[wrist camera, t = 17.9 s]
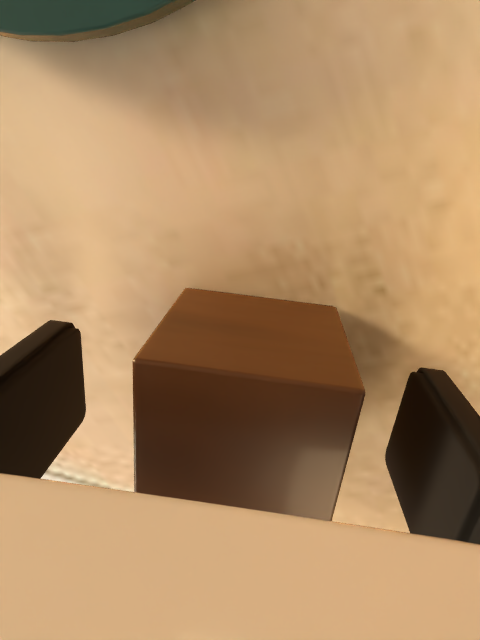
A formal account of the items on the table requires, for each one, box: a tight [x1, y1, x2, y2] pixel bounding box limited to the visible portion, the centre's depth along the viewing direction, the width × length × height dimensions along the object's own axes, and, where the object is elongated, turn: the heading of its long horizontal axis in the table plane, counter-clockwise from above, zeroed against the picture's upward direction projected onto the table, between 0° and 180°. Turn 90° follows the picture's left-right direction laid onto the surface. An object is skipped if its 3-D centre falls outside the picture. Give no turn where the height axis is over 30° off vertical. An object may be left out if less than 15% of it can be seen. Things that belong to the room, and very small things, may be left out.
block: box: [133, 288, 365, 521], centre depth 10 cm, size 4×4×4 cm
